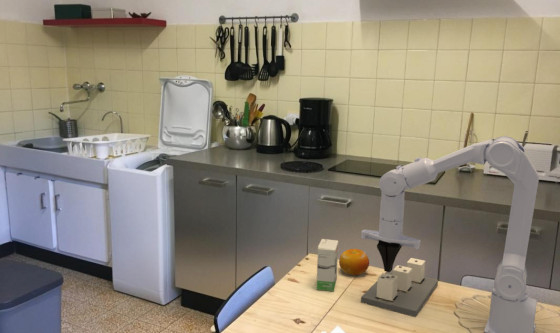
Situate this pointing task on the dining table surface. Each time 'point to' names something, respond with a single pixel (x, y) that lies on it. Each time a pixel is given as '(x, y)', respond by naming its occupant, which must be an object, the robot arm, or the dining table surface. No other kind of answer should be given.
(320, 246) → the ink box
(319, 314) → the dining table surface
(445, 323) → the dining table surface
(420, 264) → the key one
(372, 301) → the keypad board
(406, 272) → the key two
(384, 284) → the key three
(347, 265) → the fruit
